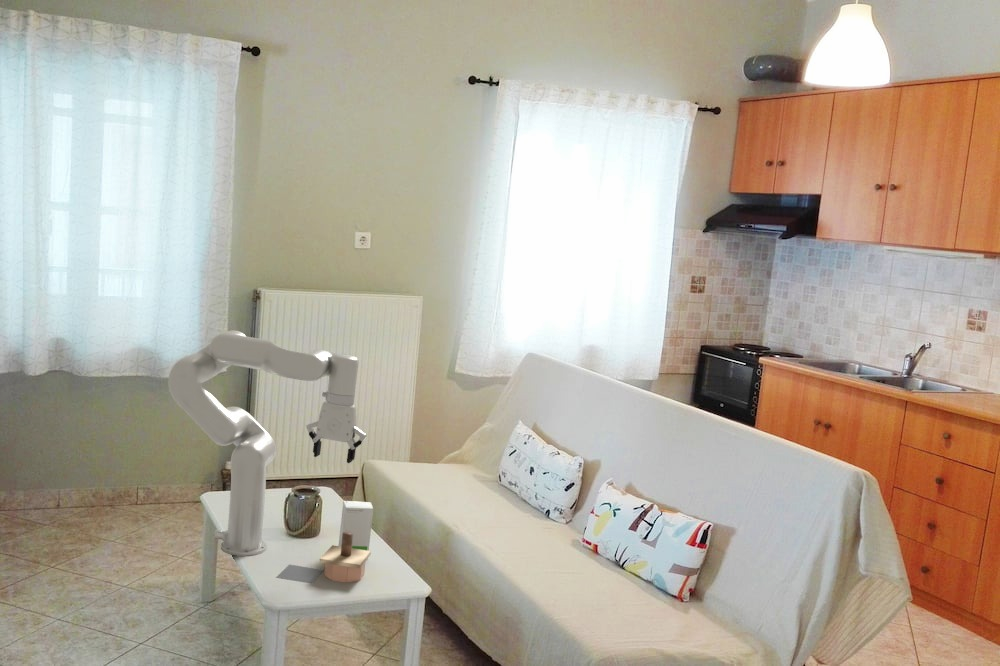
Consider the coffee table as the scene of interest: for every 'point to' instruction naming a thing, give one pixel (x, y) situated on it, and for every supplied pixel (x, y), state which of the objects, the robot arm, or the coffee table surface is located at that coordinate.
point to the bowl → (344, 572)
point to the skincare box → (357, 523)
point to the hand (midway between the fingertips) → (333, 458)
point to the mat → (300, 573)
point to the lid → (345, 553)
